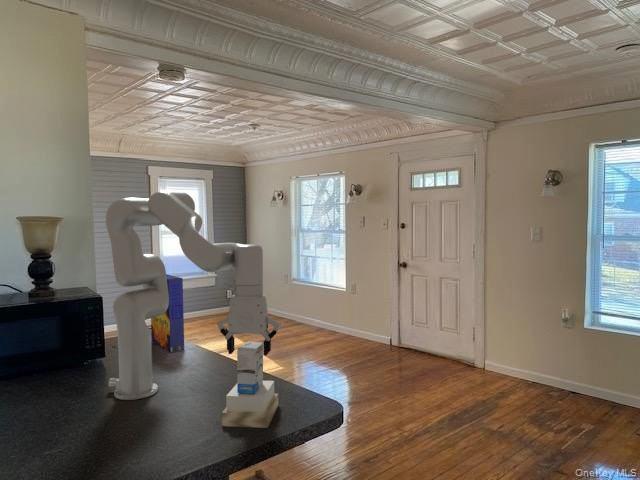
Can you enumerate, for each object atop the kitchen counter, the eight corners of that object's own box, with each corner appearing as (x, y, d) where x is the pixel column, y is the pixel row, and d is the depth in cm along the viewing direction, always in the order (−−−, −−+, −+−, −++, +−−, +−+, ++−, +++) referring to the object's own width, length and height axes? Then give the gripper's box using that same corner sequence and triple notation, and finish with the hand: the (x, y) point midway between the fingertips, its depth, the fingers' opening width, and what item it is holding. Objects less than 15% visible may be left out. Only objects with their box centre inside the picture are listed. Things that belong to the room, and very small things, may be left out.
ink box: (254, 395, 120) (254, 350, 119) (236, 393, 121) (236, 349, 120) (263, 383, 128) (264, 341, 128) (246, 382, 129) (247, 340, 128)
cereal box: (151, 342, 202) (149, 274, 200) (165, 339, 206) (163, 273, 204) (170, 353, 185) (168, 278, 183) (184, 350, 189) (182, 277, 187)
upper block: (226, 411, 120) (226, 395, 119) (240, 393, 131) (239, 379, 131) (264, 412, 118) (263, 397, 118) (274, 394, 130) (274, 380, 130)
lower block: (222, 428, 119) (221, 412, 118) (237, 406, 133) (237, 392, 132) (267, 429, 117) (267, 414, 117) (278, 407, 131) (278, 393, 131)
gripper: (212, 292, 120) (213, 356, 121) (277, 293, 118) (277, 359, 119) (222, 287, 128) (222, 348, 129) (283, 289, 126) (283, 350, 127)
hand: (248, 353), depth 124 cm, fingers open, 9 cm apart
